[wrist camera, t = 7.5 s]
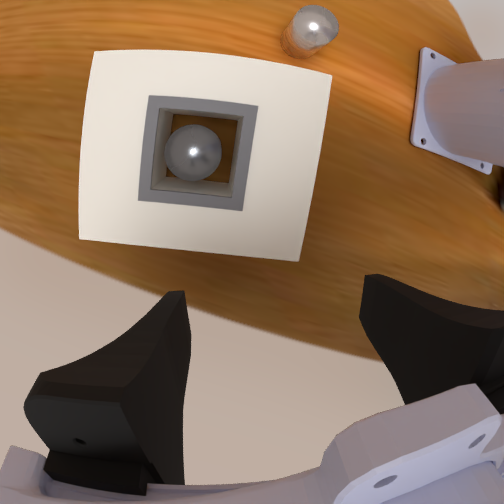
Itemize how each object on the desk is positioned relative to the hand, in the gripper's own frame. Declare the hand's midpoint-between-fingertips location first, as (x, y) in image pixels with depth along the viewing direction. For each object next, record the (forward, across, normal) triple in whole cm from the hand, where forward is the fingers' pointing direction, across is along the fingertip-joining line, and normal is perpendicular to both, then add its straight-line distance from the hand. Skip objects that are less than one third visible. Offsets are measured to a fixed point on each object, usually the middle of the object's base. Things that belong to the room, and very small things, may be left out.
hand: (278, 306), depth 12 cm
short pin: (+9, -3, -13) cm, 16 cm away
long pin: (+9, +3, -6) cm, 11 cm away
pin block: (+9, +3, -6) cm, 11 cm away
